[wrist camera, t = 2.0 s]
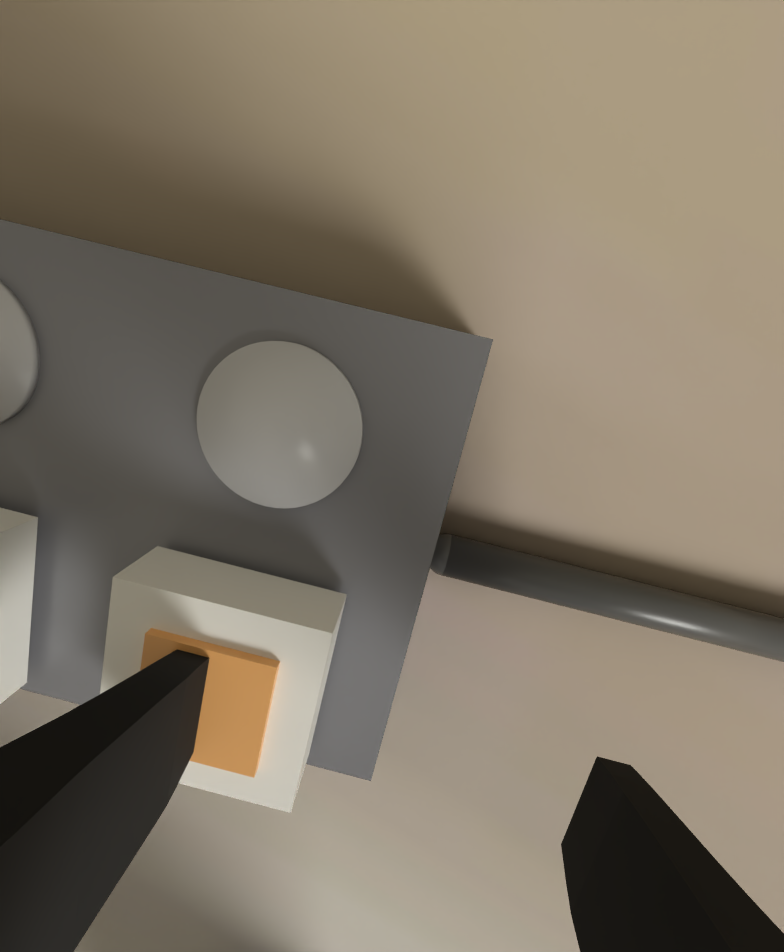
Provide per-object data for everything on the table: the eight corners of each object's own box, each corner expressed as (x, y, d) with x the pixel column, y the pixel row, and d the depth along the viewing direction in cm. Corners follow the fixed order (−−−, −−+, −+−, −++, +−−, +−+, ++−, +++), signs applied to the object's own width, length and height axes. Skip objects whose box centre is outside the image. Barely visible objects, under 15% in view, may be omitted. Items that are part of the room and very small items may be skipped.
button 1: (308, 754, 11) (288, 822, 10) (136, 708, 11) (85, 769, 10) (346, 594, 10) (330, 639, 9) (157, 546, 10) (105, 581, 9)
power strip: (773, 809, 14) (854, 915, 11) (-302, 529, 14) (-465, 568, 12) (957, 459, 11) (1115, 490, 9) (-344, 141, 12) (-561, 81, 9)
